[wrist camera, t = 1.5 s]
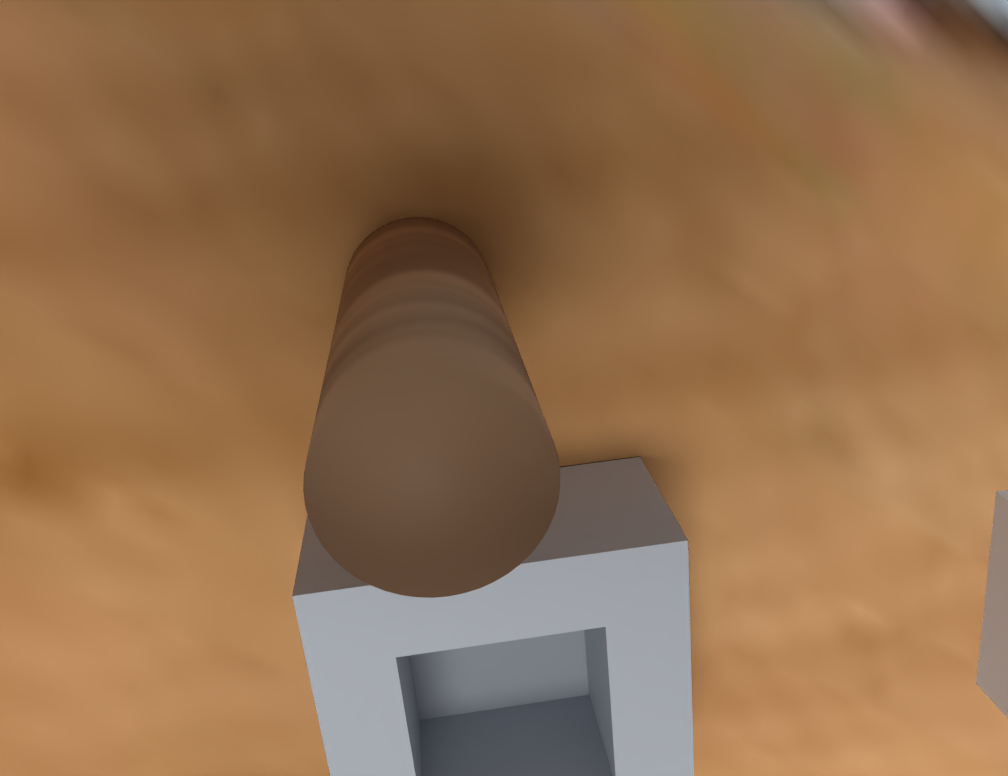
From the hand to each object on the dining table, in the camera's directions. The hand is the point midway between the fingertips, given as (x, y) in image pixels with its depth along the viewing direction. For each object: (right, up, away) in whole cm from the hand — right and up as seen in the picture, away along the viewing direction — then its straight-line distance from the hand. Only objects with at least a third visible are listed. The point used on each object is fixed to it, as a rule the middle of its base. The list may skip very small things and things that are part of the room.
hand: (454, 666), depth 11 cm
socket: (0, -4, +19) cm, 19 cm away
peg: (-2, +6, +15) cm, 16 cm away
